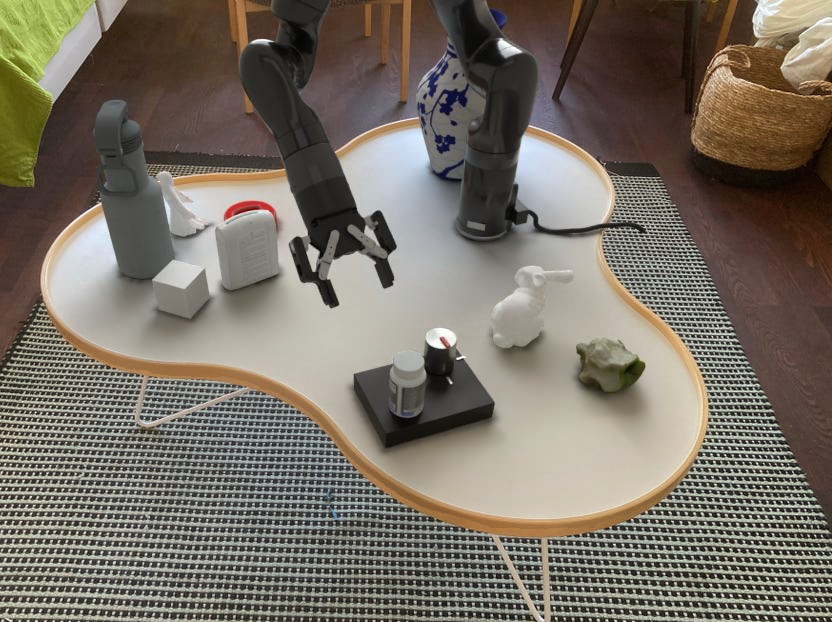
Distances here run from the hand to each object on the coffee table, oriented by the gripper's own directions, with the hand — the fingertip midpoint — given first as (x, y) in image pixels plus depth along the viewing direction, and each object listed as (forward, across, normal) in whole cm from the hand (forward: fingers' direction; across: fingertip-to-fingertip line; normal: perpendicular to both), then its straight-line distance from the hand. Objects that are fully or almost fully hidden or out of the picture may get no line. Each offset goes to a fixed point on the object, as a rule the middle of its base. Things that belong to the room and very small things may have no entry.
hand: (362, 297), depth 100 cm
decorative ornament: (-21, +2, +39) cm, 45 cm away
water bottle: (-20, -19, +38) cm, 47 cm away
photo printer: (-11, -5, +29) cm, 32 cm away
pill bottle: (+16, -1, -2) cm, 16 cm away
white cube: (-10, -17, +29) cm, 35 cm away
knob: (+13, +8, +2) cm, 15 cm away
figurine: (-25, -9, +44) cm, 51 cm away
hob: (+17, +3, +2) cm, 17 cm away
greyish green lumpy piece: (+24, +29, -5) cm, 38 cm away
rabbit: (+13, +26, +6) cm, 29 cm away
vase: (-20, +48, +39) cm, 65 cm away
